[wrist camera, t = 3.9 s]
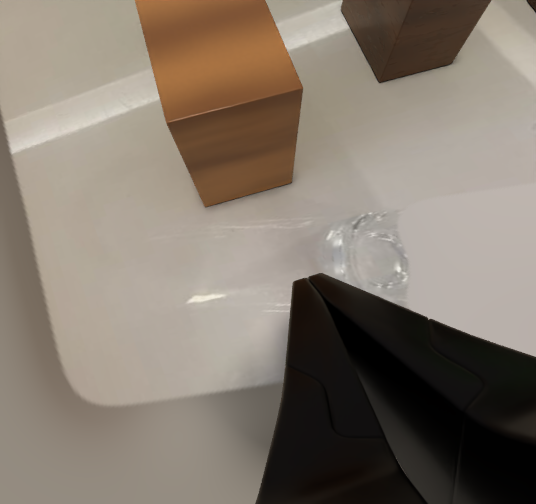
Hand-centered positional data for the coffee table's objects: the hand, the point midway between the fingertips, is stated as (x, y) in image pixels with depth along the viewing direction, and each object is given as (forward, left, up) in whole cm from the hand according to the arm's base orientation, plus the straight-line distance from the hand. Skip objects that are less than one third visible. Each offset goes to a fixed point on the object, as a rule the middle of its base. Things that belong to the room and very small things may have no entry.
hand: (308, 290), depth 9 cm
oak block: (+12, -5, -10) cm, 16 cm away
